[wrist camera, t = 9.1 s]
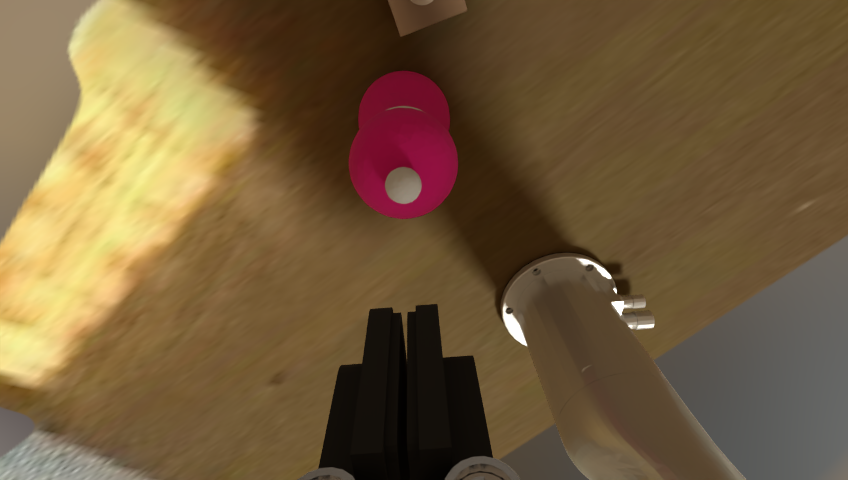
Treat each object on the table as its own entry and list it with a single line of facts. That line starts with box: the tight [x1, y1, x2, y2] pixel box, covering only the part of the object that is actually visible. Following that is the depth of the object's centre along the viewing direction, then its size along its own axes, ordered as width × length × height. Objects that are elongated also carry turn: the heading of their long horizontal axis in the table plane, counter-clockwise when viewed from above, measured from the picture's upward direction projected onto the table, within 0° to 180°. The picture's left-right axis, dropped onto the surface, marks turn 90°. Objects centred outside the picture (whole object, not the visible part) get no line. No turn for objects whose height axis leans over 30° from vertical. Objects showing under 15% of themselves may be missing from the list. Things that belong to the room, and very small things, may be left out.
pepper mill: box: [349, 71, 458, 219], centre depth 29 cm, size 7×7×20 cm
